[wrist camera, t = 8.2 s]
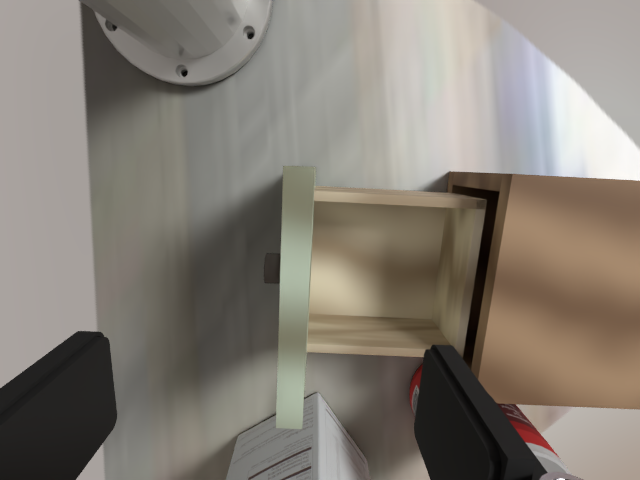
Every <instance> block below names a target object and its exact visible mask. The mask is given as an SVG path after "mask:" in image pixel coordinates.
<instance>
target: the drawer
mask: <svg viewBox="0 0 640 480" xmlns="http://www.w3.org/2000/svg"><path fill="white" fill-rule="evenodd" d="M315 180H316V167H304V166H283V192H282V228H281V254H274V253H267V254H266V257H265V264H264V282H265V283H278V284H280V299H279V335H278V371H277V406H276V428H286V429H302V425H303V409H304V392H305V376H306V359H307V352H317V353H340V354H362V355H385V356H408V357H424V352H425V350H426V349H430V348H431V346H432V345H452V346H453V347H454V348H455V349H456V351H457V352H458V353H459V355H460V356H461V357H462V359H463V353H464V346H465V340H466V334H467V327H468V321H469V314H470V308H471V301H472V295H473V288H474V282H475V275H476V269H477V262H478V256H479V250H480V243H481V237H482V230H483V224H484V217H485V211H486V204H487V200H486V199H481V198H476V197H471V196H466V195H460V194H455V193H443V192H423V191H404V190H385V189H366V188H346V187H327V186H315Z"/></svg>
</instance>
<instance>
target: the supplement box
mask: <svg viewBox="0 0 640 480" xmlns="http://www.w3.org/2000/svg"><path fill="white" fill-rule="evenodd" d="M226 480H370V475H369V469H368V462H367V459H366V458H365V456H364V455H363V454H362V452H361V451H360V449H359V448H358V446H357V445H356V444H355V442H354V441H353V439H352V438H351V437H350V435H349V434H348V433H347V431H346V430H345V428H344V427H343V426H342V424H341V423H340V421H339V420H338V419H337V417H336V416H335V414H334V413H333V412H332V410H331V409H330V407H329V406H328V405H327V403H326V402H325V400H324V399H323V398H322V396H321V395H320V394H319V393H318V392H317V393H315V394H313V395H311V396H309V397H308V398H306V399H304V409H303V425H302V429H286V428H276V415H275V416H273V417H271V418H269V419H268V420H266V421H264V422H262V423H260V424H258V425H256V426H255V427H253V428H251V429H249V430H247V431H246V432H244V433H242V434H240V435H239V436H238V438H237V441H236V445H235V448H234V452H233V456H232V459H231V463H230V466H229V470H228V473H227V477H226Z"/></svg>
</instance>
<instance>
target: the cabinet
mask: <svg viewBox="0 0 640 480" xmlns="http://www.w3.org/2000/svg"><path fill="white" fill-rule="evenodd" d="M447 193H455V194H460V195H466V196H471V197H476V198H481V199H486V200H487V204H486V211H485V217H484V224H483V230H482V237H481V243H480V250H479V256H478V262H477V269H476V275H475V282H474V288H473V295H472V301H471V308H470V314H469V321H468V327H467V334H466V340H465V346H464V353H463V360H464V361H465V363H466V364H467V365H468V367H469V368H470V370H471V371H472V372H473V374H474V375H475V376H476V378H477V379H478V380H479V382H480V383H481V385H482V386H483V387H484V389H485V390H486V391H487V393H488V394H489V395H490V396H491V397H492V398H493V399H494V401H495V402H496V403H499V404H523V405H547V406H571V407H597V408H620V409H640V181H634V180H615V179H596V178H577V177H558V176H539V175H521V174H498V173H473V172H449V179H448V187H447Z"/></svg>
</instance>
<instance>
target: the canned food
mask: <svg viewBox="0 0 640 480" xmlns="http://www.w3.org/2000/svg"><path fill="white" fill-rule="evenodd" d="M422 366H423V364H422V365H421V366H420V367H419V368H418V369H417V371H416V372H415V374H414V375H413V378H412V381H411V384H410V394H409V396H410V405H411V408H412V412H413V414H414V417H415V416H416V409H417V402H418V394H419V387H420V380H421V373H422ZM497 405H498V406H499V407H500V409H501V410H502V411H503V413H504V414H505V416H506V417H507V418H508V420H509V421H510V422H511V424H512V425H513V426H514V428H515V429H516V430H517V432H518V433H519V434H520V436H521V437H522V438H523V440H524V441H525V443H526V444H527V445H528V447H529V448H530V449H531V451H532V452H533V453H534V455H535V456H536V457H537V459H538V460H539V461H540V463H541V464H542V466H543V467H544V468H545V470H546V471H547V472H562V473H566V474H571V473H570V472H569V471H568V469H567V467H566V465H565V464H564V463H563V462H562V460H561V459H560V458H559V456H558V455H557V454H556V453H555V452H554V450H553V449H552V448H551V447H550V445H549V444H548V443H547V441H546V440H545V439H544V438H543V437H542V436H541V434H540V433H539V432H538V431H537V429H536V428H535V427H534V426H533V425H532V424H531V422H530V421H529V420H528V419H527V418H526V416H525V415H524V414H523V413H522V412H521V410H520V409H519V408H518V407H517V406H516V404H499V403H497ZM571 475H572V474H571Z"/></svg>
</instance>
